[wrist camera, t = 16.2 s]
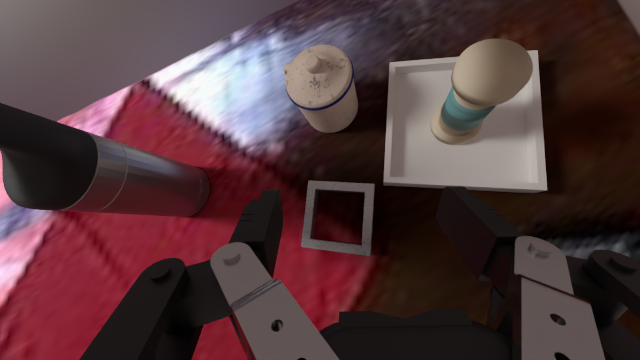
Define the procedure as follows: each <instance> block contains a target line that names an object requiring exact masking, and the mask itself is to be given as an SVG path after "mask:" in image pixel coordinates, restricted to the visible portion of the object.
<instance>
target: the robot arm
mask: <svg viewBox="0 0 640 360" xmlns="http://www.w3.org/2000/svg"><path fill="white" fill-rule="evenodd" d="M0 151H1V154H2V160H3V183H4V187H5V190H6V192H7V194H8V196H9V198H10V199H11V200H12V201H13V202H14V203H15V204H17V205H19V206H21V207H25V208H29V209H39V210H59V211H78V212H100V213H119V214H138V215H157V216H174V217H189V216H192V215H194V214H196V213H198V212H199V211H200V210H201V209H202V208H203V206H204V205H205V203H206V201H207V199H208V196H209V191H210V184H209V180H208V177H207V175H206V173H205V172H204V171H203V170H201V169H200V168H197V167H194V166H191V165H188V164H185V163H182V162H179V161H176V160H173V159H170V158H167V157H164V156H161V155H158V154H154V153H151V152H148V151H145V150H142V149H139V148H136V147H133V146H130V145H127V144H123V143H120V142H117V141H114V140H111V139H108V138H104V137H101V136H98V135H95V134H92V133H89V132H86V131H83V130H79V129H76V128H73V127H70V126H67V125H64V124H61V123H58V122H55V121H52V120H50V119H46V118H44V117H41V116H38V115H35V114H32V113H29V112H26V111H23V110H20V109H17V108H14V107H11V106H8V105H5V104H2V103H0ZM437 222H438V224H439V226H440V227H441V229H442V230H443V232H444V233H445V235H446V236H447V237H448V239H449V240H450V242H451V243H452V245H453V246H454V248H455V249H456V250H457V252H458V253H459V255H460V256H461V258H462V259H463V260H464V262H465V263H466V265H467V266H468V268H469V269H470V270H471V272H472V273H473V275H474V276H475V278H476V279H477V281H484V280H491V281H492V282H493V285H492V287H491V290H490V297H489V305H488V313H487V321H486V325H483V324H481V323H478V322H475V321H471V320H470V318H469V316H468V314H467V313H466V311H465V309H442V310H431V311H428V312H425V313H422V314H419V315H415V316H412V317H409V318H398V317H394V316H390V315H385V314H381V313H376V312H372V311H350V312H339V322H337V323H334V324H332V325H330V326H328V327H326V328H324V329H323V330H321V331H318V330H317V329H316V327H315V326H314V325H313V323H312V322H311V321H310V319H309V318H308V317H307V315H306V314H305V313H304V311H303V310H302V308H301V307H300V306H299V304H298V303H297V302H296V300H295V299H294V298H293V296H292V295H291V294H290V292H289V291H288V290H287V288H286V287H285V286H284V284H283V283H282V282H281V281H280V280H279V279H276V280H275V281H274V280H273V274H274V268H275V263H276V258H277V253H278V248H279V243H280V238H281V233H282V227H283V213H282V205H281V196H280V191H279V190H263V192H262V195H261V197H260V200H252V201H251V202H250V203H249V204H248V205H247V206H246V207H245V209H244V211H243V213H242V215H241V217H240V219H239V222H238V224H237V226H236V228H235V230H234V232H233V235H232V237H231V239H230V241H229V243H228V244H227V245H224V246H222V247H221V248H219V249H218V250H217V251H216V252H215V253H214V254H213V256H212V258H211V259H210V260H208V261H205V262H201V263H198V264H194V265H190V266H185V264H184V262H183V261H182V260H180V259H178V258H168V259H164V260H161V261H158V262H156V263H154V264H152V265H151V266H149V267H148V268H147V269H145V270H144V271H143V272H142V273H141V275H140V276H139V277H138V279H137V280H136V281H135V283H134V284H133V285H132V287H131V288H130V290H129V291H128V292H127V294H126V295H125V297H124V298H123V299H122V301H121V302H120V304H119V305H118V306H117V308H116V309H115V311H114V312H113V313H112V315H111V316H110V318H109V319H108V320H107V322H106V323H105V325H104V326H103V327H102V329H101V330H100V332H99V333H98V334H97V336H96V337H95V338H94V340H93V341H92V343H91V344H90V345H89V347H88V348H87V350H86V351H85V352H84V354H83V355H82V357H81V358H80V359H79V360H191V359H192V356H193V353H194V351H195V348H196V345H197V342H198V339H199V336H200V334H201V331H202V328H203V325H204V324H207V323H210V322H213V321H216V320H219V319H222V318H225V317H228V316H229V318H230V320H231V322H232V325H233V327H234V329H235V332H236V334H237V336H238V338H239V341H240V343H241V345H242V347H243V350H244V352H245V354H246V357H247V359H248V360H640V341H639V340H638V339H637V338H636V337H635V336H634V335H633V334H632V333H631V332H630V331H629V330H628V329H627V328H625V327H624V326H623V325H622V324H621V323H620V322H619V321H618V320H617V319H618V318H619V317H620V316H621V315H622V314H623V313H624V312H625V311H626V310H627V309H630V310H631V311H632V312H633V313H634V314H635V315H636V316H638V317H639V318H640V263H639V262H637V261H636V260H634V259H632V258H630V257H627V256H625V255H622V254H620V253H616V252H613V251H608V250H595V251H593V252H592V253H591V255H590V256H589V257H588V259H587V260H586V259H580V258H575V257H570V256H565V255H564V254H563V252H562V251H561V250H559V249H558V248H557V247H555V246H554V245H552V244H550V243H548V242H546V241H544V240H542V239H539V238H535V237H530V236H523V235H522V234H521V233H520V232H519V231H518V230H517V229H516V228H515V227H513V226H512V225H511V224H510V223H509V222H508V221H507V220H506V219H505V218H503V217H501V215H500V214H499V213H498V212H497V211H494V209H493V208H492V207H491V206H490V205H489V204H488V203H487V202H485V201H483V200H482V199H480V198H478V197H476V196H474V195H473V194H472V193H471V192H470V191H468V190H467V189H466V188H465V187H464V186H446V187H445V188H444V189H443V191H442V195H441V199H440V202H439V206H438V210H437Z"/></svg>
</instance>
